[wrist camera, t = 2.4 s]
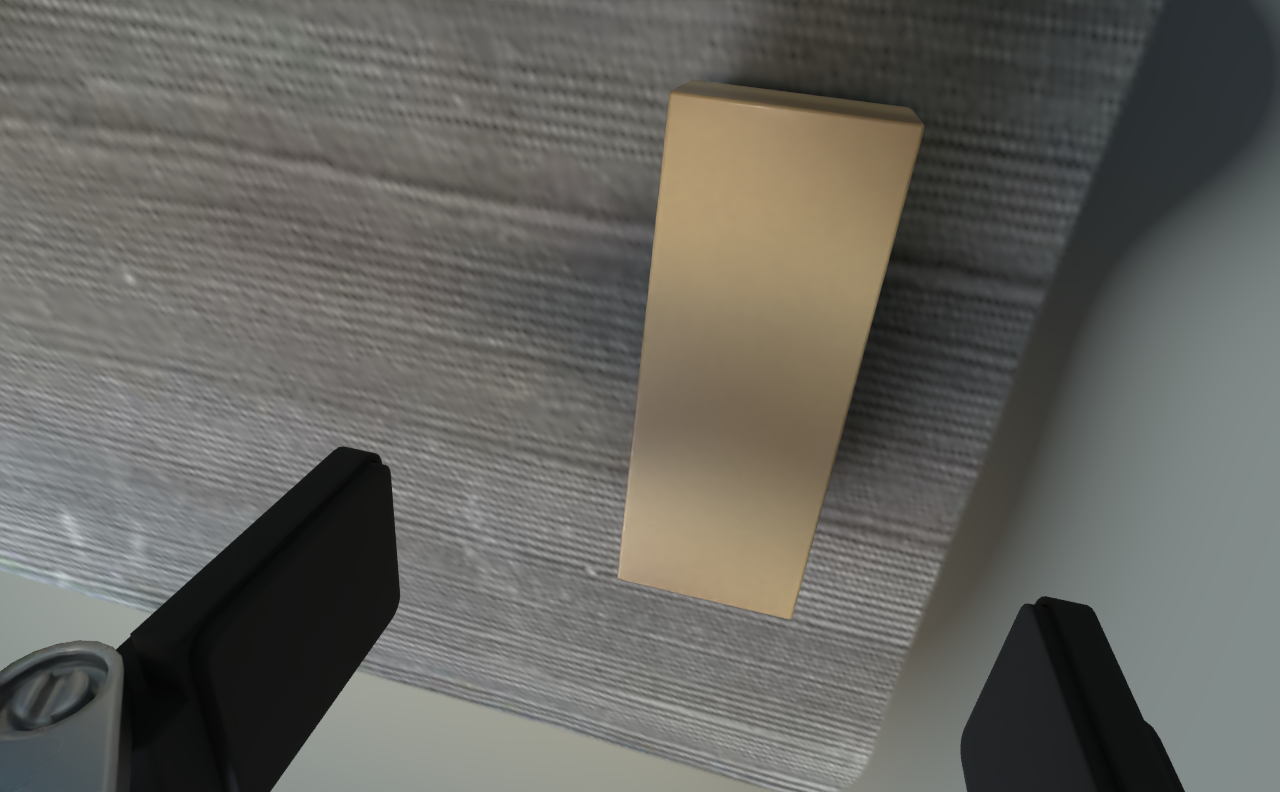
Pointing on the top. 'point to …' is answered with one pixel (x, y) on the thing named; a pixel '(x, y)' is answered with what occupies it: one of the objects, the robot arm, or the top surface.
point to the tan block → (756, 331)
